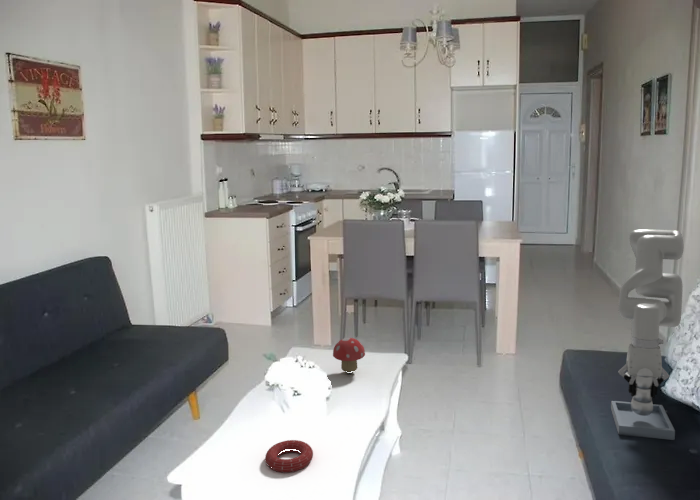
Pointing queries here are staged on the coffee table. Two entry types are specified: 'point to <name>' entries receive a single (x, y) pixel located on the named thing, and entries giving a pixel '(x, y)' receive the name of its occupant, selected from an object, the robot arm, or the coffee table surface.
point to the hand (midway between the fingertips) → (642, 395)
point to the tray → (642, 422)
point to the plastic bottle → (643, 393)
